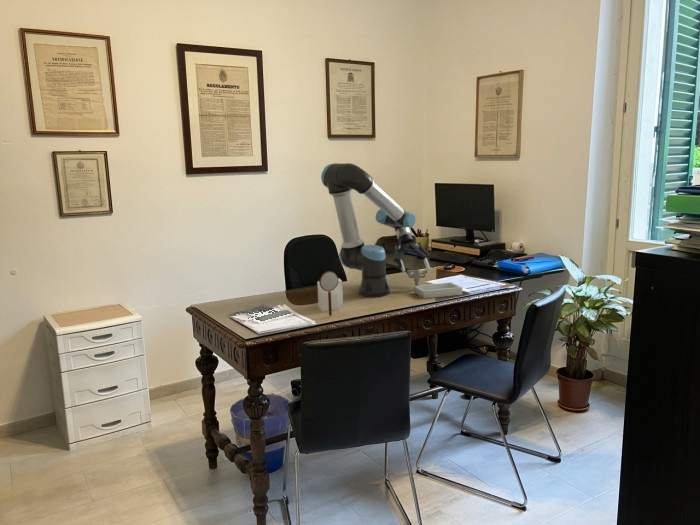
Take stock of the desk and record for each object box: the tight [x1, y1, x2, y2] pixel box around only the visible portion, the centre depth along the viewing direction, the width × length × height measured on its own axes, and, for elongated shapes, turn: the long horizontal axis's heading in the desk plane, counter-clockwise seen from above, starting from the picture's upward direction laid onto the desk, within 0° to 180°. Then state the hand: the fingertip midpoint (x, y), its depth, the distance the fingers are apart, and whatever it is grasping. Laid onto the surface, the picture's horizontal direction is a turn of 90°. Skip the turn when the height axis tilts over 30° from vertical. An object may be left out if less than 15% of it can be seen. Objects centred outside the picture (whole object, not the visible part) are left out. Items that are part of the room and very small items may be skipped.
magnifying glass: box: [318, 270, 339, 318], centre depth 236 cm, size 9×2×20 cm, turn 116°
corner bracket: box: [316, 277, 344, 313], centre depth 252 cm, size 11×11×12 cm
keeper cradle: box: [413, 281, 463, 299], centre depth 270 cm, size 20×12×4 cm, turn 106°
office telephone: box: [227, 304, 292, 321], centre depth 244 cm, size 23×3×20 cm
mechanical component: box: [405, 269, 428, 286], centre depth 279 cm, size 3×10×10 cm, turn 89°
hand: (416, 270), depth 283 cm, fingers open, 13 cm apart
